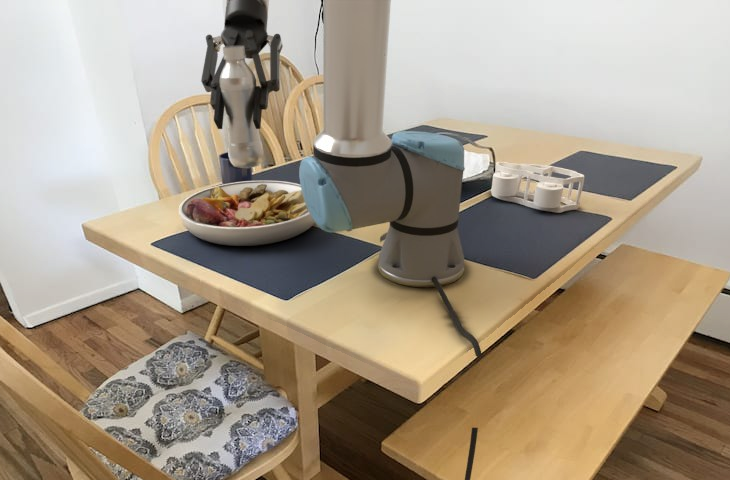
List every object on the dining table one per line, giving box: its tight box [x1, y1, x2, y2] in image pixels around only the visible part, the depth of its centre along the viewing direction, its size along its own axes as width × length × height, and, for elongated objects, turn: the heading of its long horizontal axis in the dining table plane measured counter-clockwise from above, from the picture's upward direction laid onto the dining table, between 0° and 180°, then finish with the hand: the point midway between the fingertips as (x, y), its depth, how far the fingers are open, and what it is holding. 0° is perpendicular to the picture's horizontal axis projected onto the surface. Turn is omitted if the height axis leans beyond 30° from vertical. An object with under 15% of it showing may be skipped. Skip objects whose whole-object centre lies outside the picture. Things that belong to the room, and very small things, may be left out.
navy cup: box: [217, 151, 254, 185], centre depth 135 cm, size 8×8×9 cm
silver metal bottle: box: [219, 45, 265, 169], centre depth 97 cm, size 6×7×20 cm
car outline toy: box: [490, 161, 585, 214], centre depth 125 cm, size 20×11×7 cm, turn 42°
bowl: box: [178, 179, 316, 247], centre depth 117 cm, size 30×30×8 cm
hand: (237, 124), depth 95 cm, fingers closed on silver metal bottle, 6 cm apart
